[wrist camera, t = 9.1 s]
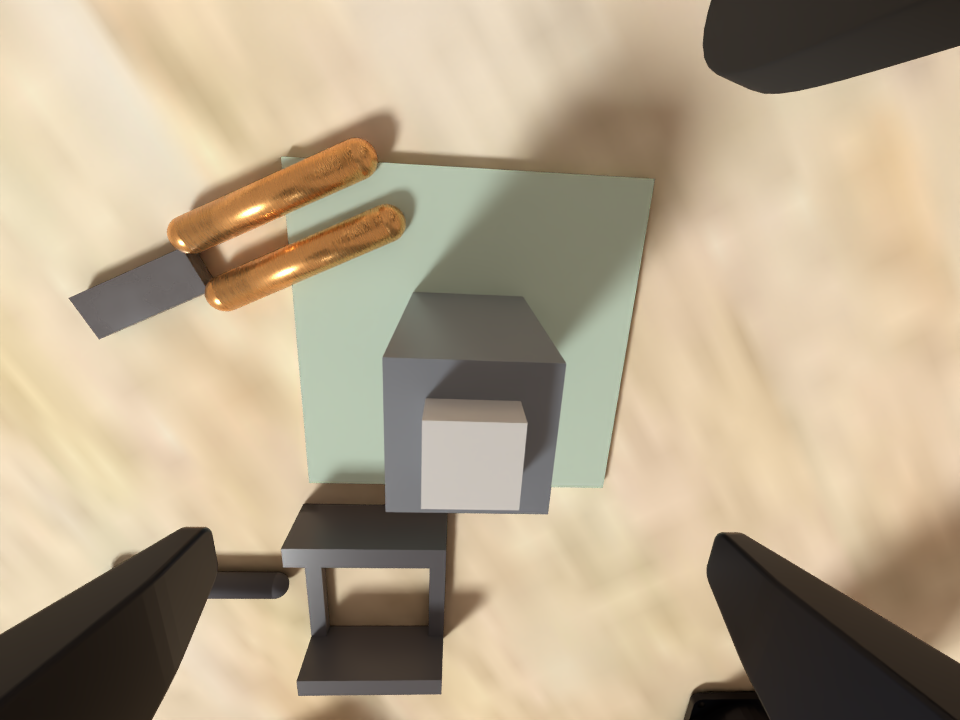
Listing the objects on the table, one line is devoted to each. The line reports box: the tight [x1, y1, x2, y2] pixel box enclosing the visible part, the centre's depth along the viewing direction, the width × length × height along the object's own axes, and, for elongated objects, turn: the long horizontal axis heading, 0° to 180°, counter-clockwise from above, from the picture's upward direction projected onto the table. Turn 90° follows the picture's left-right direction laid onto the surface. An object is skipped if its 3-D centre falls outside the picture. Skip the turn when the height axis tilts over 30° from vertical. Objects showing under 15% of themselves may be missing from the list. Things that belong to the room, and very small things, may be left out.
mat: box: [281, 157, 655, 488], centre depth 20 cm, size 14×14×1 cm
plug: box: [382, 292, 566, 514], centre depth 15 cm, size 4×4×9 cm
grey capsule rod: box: [208, 572, 289, 599], centre depth 23 cm, size 9×1×1 cm, turn 87°
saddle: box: [281, 504, 447, 696], centre depth 22 cm, size 7×9×3 cm
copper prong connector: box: [69, 138, 406, 339], centre depth 17 cm, size 13×4×1 cm, turn 112°
